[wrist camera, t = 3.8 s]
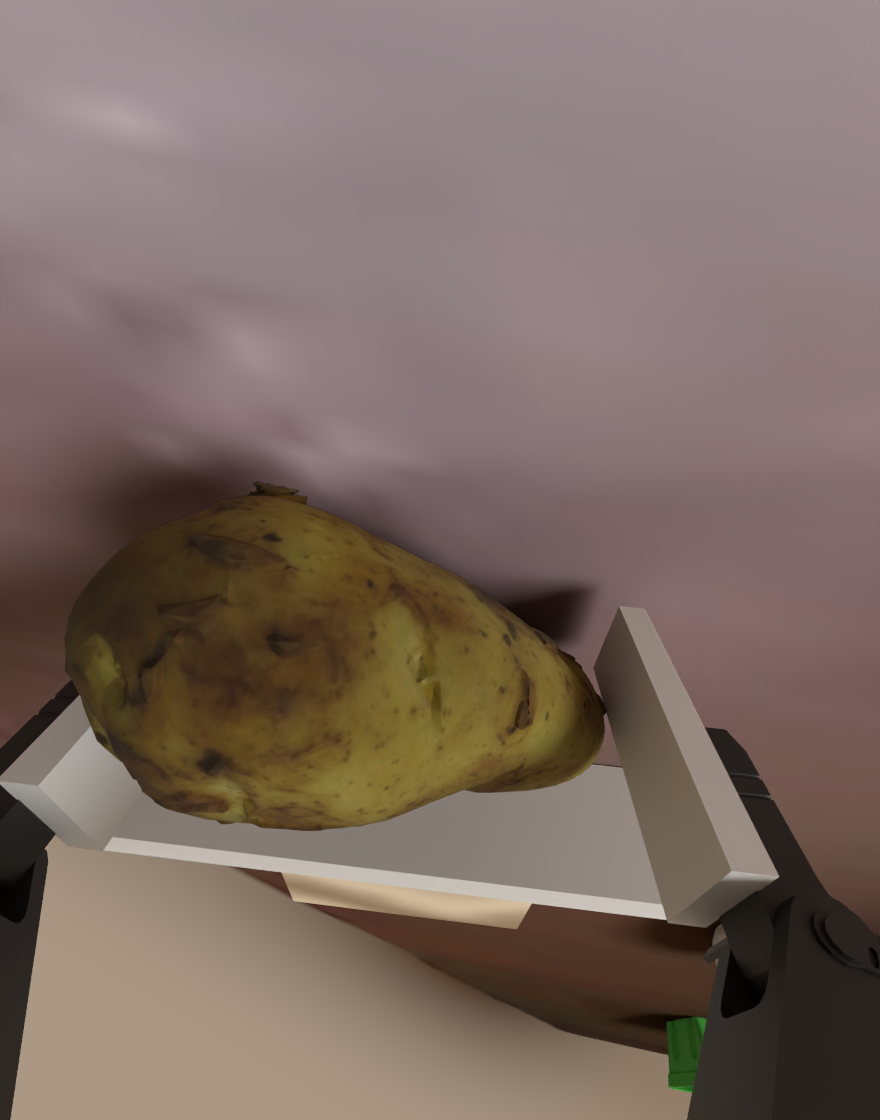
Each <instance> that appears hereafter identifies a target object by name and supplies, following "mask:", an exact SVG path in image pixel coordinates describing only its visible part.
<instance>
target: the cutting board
mask: <svg viewBox="0 0 880 1120" xmlns="http://www.w3.org/2000/svg"><path fill="white" fill-rule="evenodd" d="M281 873H282V875H283V877H284V880H285V882H286V884H287V887H288V889H289V891H290V894H291V896H292V898H293V901H298V902H306V903H314V904H322V905H330V906H338V907H346V908H353V909H361V910H369V911H377V912H385V913H393V914H401V915H409V916H417V917H425V918H433V919H441V920H449V921H457V922H465V923H472V924H480V925H488V926H496V927H504V928H512V929H517V928H518V926H519V924H520V923H521V921H522V919H523V918H524V916H525V914H526V912H527V911H528V909H529V907H530V905H531V904H532V903H526V902H518V901H510V900H502V899H493V898H485V897H477V896H469V895H461V894H453V893H445V892H437V891H429V890H421V889H413V888H405V887H397V886H389V885H381V884H372V883H364V882H356V881H348V880H340V879H332V878H324V877H316V876H308V875H300V874H292V873H284V872H281Z"/></svg>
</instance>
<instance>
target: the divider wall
mask: <svg viewBox="0 0 880 1120" xmlns="http://www.w3.org/2000/svg"><path fill="white" fill-rule="evenodd" d="M104 850H106V851H115V852H123V853H130V854H139V855H147V856H156V857H163V858H172V859H179V860H187V861H195V862H203V863H211V864H219V865H227V866H235V867H243V868H251V869H260V870H268V871H276V872H284V873H292V874H300V875H308V876H316V877H324V878H332V879H340V880H348V881H356V882H364V883H372V884H381V885H389V886H397V887H405V888H413V889H421V890H429V891H437V892H445V893H453V894H461V895H469V896H477V897H485V898H493V899H502V900H510V901H518V902H526V903H534V904H542V905H550V906H558V907H566V908H574V909H582V910H590V911H598V912H606V913H614V914H622V915H631V916H639V917H647V918H655V919H663V920H667V919H666V916H665V912H664V909H663V905H662V902H661V898H660V895H659V892H658V888H657V885H656V881H655V878H654V874H653V871H652V867H651V864H650V861H649V857H648V854H647V850H646V847H645V843H644V840H643V836H642V833H641V830H640V826H639V823H638V819H637V816H636V812H635V809H634V806H633V802H632V799H631V795H630V792H629V788H628V785H627V781H626V778H625V775H624V771H623V768H620V767H611V766H602V765H594V764H592V765H591V766H590V767H589V768H588V769H587V770H586V771H585V772H583V773H582V774H581V775H579V776H577V777H575V778H574V779H572V780H570V781H567V782H564V783H561V784H559V785H556V786H552V787H547V788H542V789H536V790H529V791H516V792H497V793H475V792H471V791H466V790H463V791H460V792H458V793H455V794H452V795H450V796H447V797H444V798H442V799H439V800H437V801H434V802H432V803H429V804H427V805H425V806H422V807H420V808H417V809H415V810H412V811H410V812H407V813H405V814H402V815H400V816H398V817H395V818H393V819H390V820H387V821H383V822H378V823H373V824H369V825H364V826H359V827H348V828H338V829H326V830H323V831H298V830H288V829H270V828H260V827H258V826H256V825H254V824H248V823H232V824H220V823H219V822H217V821H216V820H206V819H202V818H199V817H195V816H191V815H187V814H183V813H178V812H175V811H172V810H168V809H165V808H163V807H162V806H160V805H158V804H156V803H155V802H154V801H153V800H152V798H150V797H148V796H147V795H146V794H145V793H143V792H142V793H141V795H140V796H139V798H138V799H137V801H136V802H135V804H134V805H133V807H132V808H131V810H130V811H129V813H128V814H127V816H126V817H125V819H124V820H123V822H122V823H121V825H120V826H119V828H118V829H117V831H116V832H115V834H114V835H113V837H112V838H111V840H110V841H109V843H108V844H107V846H106V847H105V849H104Z"/></svg>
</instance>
